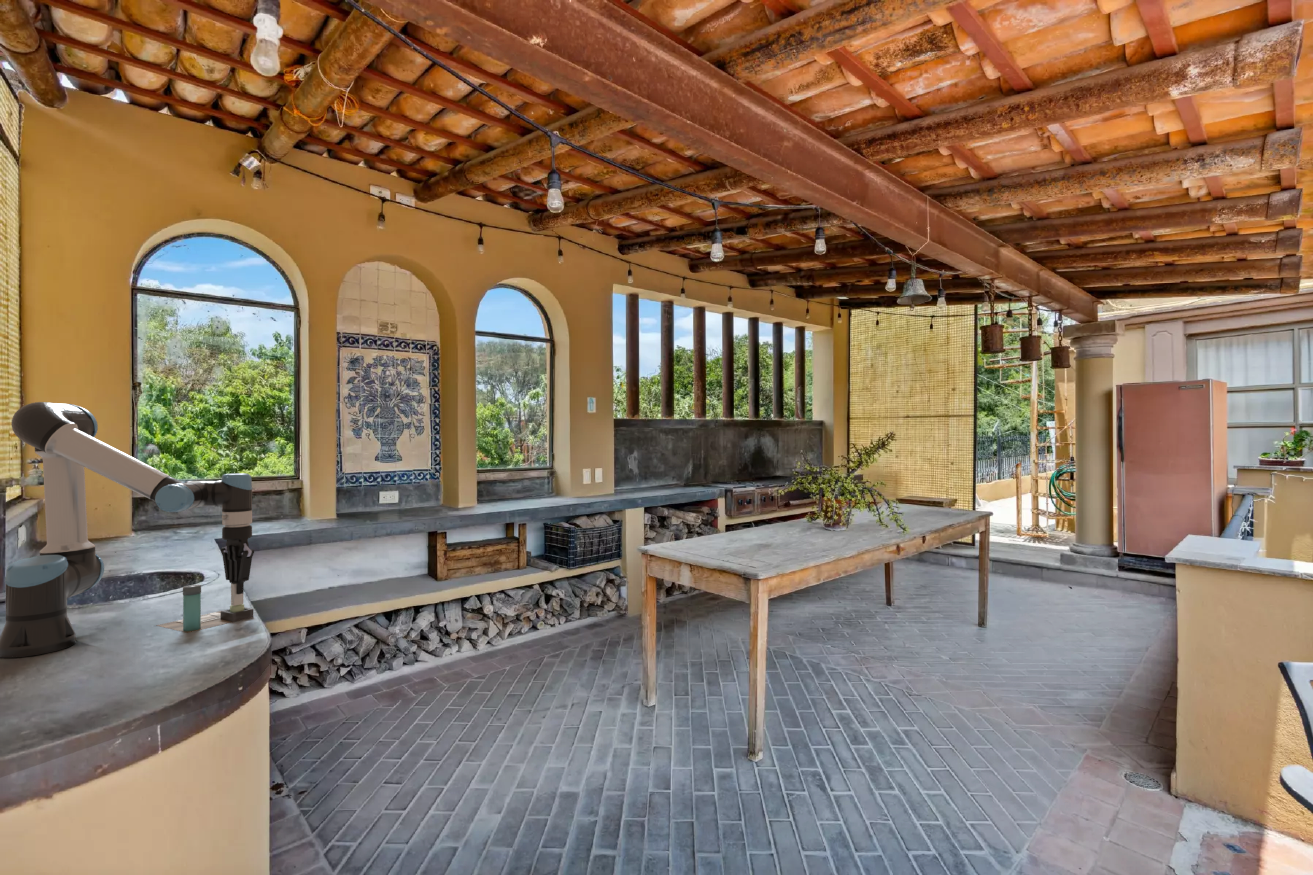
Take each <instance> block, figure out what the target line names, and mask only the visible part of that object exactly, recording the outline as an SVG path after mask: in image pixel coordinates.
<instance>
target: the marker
mask: <svg viewBox="0 0 1313 875" xmlns="http://www.w3.org/2000/svg"><path fill="white" fill-rule="evenodd" d="M201 593H202V584H201V585H200V584H191V585H184V586H183V587H182V605H183V606H182V608H183V609H182V619H183V631H194V632H196V631H195V630H198V631H200V630H199V629H200V628H201V615H202V612H201V610H202V609H201V607H202V606H201V604H202V603H201V602H202V600H201V599H202V594H201Z"/></svg>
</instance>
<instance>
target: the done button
mask: <svg viewBox="0 0 1313 875" xmlns="http://www.w3.org/2000/svg"><path fill="white" fill-rule="evenodd" d="M244 607H245V604H244V603H243V604H241V605H236V606H232V605H231V604H230V606H229V609H230V612H233V613H235V612H239V611H243V610H244Z"/></svg>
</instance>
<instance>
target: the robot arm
mask: <svg viewBox="0 0 1313 875" xmlns="http://www.w3.org/2000/svg"><path fill="white" fill-rule="evenodd" d="M98 427H99V426H98V421H97V419H96V417H95V416H94V414H93V413H92V412H91V411H89V410H88V409H87V408H84V407H82V406H80V405H75V404H72V403H57V402H47V401H46V402H45V401H36V402H31V403H27V404H25V405H23V406H22V407H20V408H19V409H17V410H16V412H14V414H13V415H12V419H11V430H12V432H13V434H14V435H15V436H16V437H17V438H18V439H19V440H20V441H22V442H23V443H25V444H26V445H30V446H31V447H33V448H34V453H35V454H36V455H37V456H39V457H41V458H42V459H41V460H42V468H43V469H42V472H43V489H44V490H43V491H44V492H43V494H44V510H45V512H44V513H45V530H46V534H45V535H46V545H44V547H43V548H41V549H40V550H39V555H36V556H32V557H26V558H22V559H19V560H16V561H14V562H11V563H10V564H9V565H8V566H7V568H6V571H5V577H4V584H5V587H4V588H5V623H4V627H3V628H2V631H1V633H0V658H2V659H3V658H4V659H5V658H7V659H8V658H9V659H10V658H11V659H13V658H14V659H15V658H24V657H25V658H26V657H31V656H32V657H33V656H39V655H44V654H49V653H52V652H57V651H61V650H64V649H67V648H70V647H72V646H74V645H75V644H76V642H77V640H76V636H77V635H76V634H77V633H76V632H75V630H74V628H73V625H72V623H71V620H70V618H69V617H68V599H70V598H71V597H74V596H78V595H81V594H83V593H86V592H87V591H89V590H90V589H92V588H94V587H95V586H96V585H98V583H99V582H100V581H101V579H102V578H103V576H104V573H105V564H104V561H103V559H102V557H100V556H99V555H98V554H96V545H95V544H94V543H93V542H91V541H90V540H89V538H88V536H89V535H88V533H89V532H88V516H87V514H88V513H87V494H86V474H85V468H86V469H88V470H90V471H92V472H94V473H96V474H98V475H99V476H102V477H104V478H106V479H108V480H110V481H112V482H115V483H117V484H118V485H121V486H122V487H125V488H127V489H129V490H130V491H133V492H135V493H136V494H139V495H141V496H143V497H145V498H147V499H149V500H151V501H152V502H155V504H156V506H157V507H158V508H159V509H160V510H161V511H164V512H167V513H181V512H184V511H187V510H191V509H195V508H199V507H200V508H201V507H221V508H222V509H221V512H222V515H221V521H222V523H221V524H222V526H223V527H222V528H221V538H222V540H225V541H226V542H225V546H224V547H221V548H220V554H221V555H222V562H223V569H224V575H225V580H226V581H229V583H230V606H231V605H232V606H236V605H241V604H244V583H246V582H247V581H249V579H250V575H251V568H252V560H253V556H254V554H255V550H254V549H250V548H249V546H250V545H249V542H248V540H249V539H251V538H252V537H253V526H252V525H251V524H252V523H253V490H254V487H253V484H252V480H253V479H252V476H251V475H250V474H249V473H246V472H245V473H224V474H222V476H221V480H220V479H219V480H185V481H184V480H183V481H180V480H178V479H176V478H174V477H173V476H170V475H168V474H167V473H165V472H163V471H161V470H159V469H157V468H155V467H153V466H151V465H149V464H147V463H145V462H143V461H141V460H139V459H137V458H135V457H133V456H132V455H129V454H128V453H126V452H124V451H121V450H119V449H118V448H115V447H113V446H111V445H109V444H108V443H106V442H103V441H102V440H100V439H97V438H96V435H97V433H98V429H99V428H98Z"/></svg>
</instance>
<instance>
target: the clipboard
mask: <svg viewBox="0 0 1313 875" xmlns="http://www.w3.org/2000/svg"><path fill="white" fill-rule="evenodd" d="M252 618H254V608H251V607H246V606H244V610H243V611H239V612H235V613H233V612H230V608H229V609H224V610H219V611H214V612H210V613H206V614H201V628H200V629H199V630H195V631H183V618H182V619H179V620H174V621H170V622H165V623H159V624H156V625H155V626H156V627H162V628H165V629H167V630H172V631H173V630H174V631H177V632H181V633H187V634H189V633H194V632H197V631H201V630H206V629H211V628H215V627H218V626H222V625H223V626H224V625H225V624H226V625H227V624H231V623H234V622H239V621H243V620H248V619H252Z"/></svg>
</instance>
